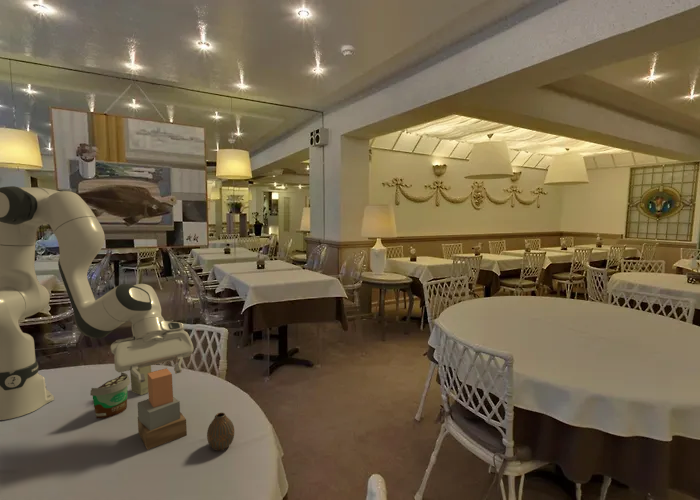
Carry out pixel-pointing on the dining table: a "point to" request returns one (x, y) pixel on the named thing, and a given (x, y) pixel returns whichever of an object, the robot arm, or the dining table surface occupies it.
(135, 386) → the skincare box
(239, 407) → the dining table surface
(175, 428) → the tower base block
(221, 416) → the vase
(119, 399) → the food container
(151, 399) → the terracotta block
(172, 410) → the tower top block
